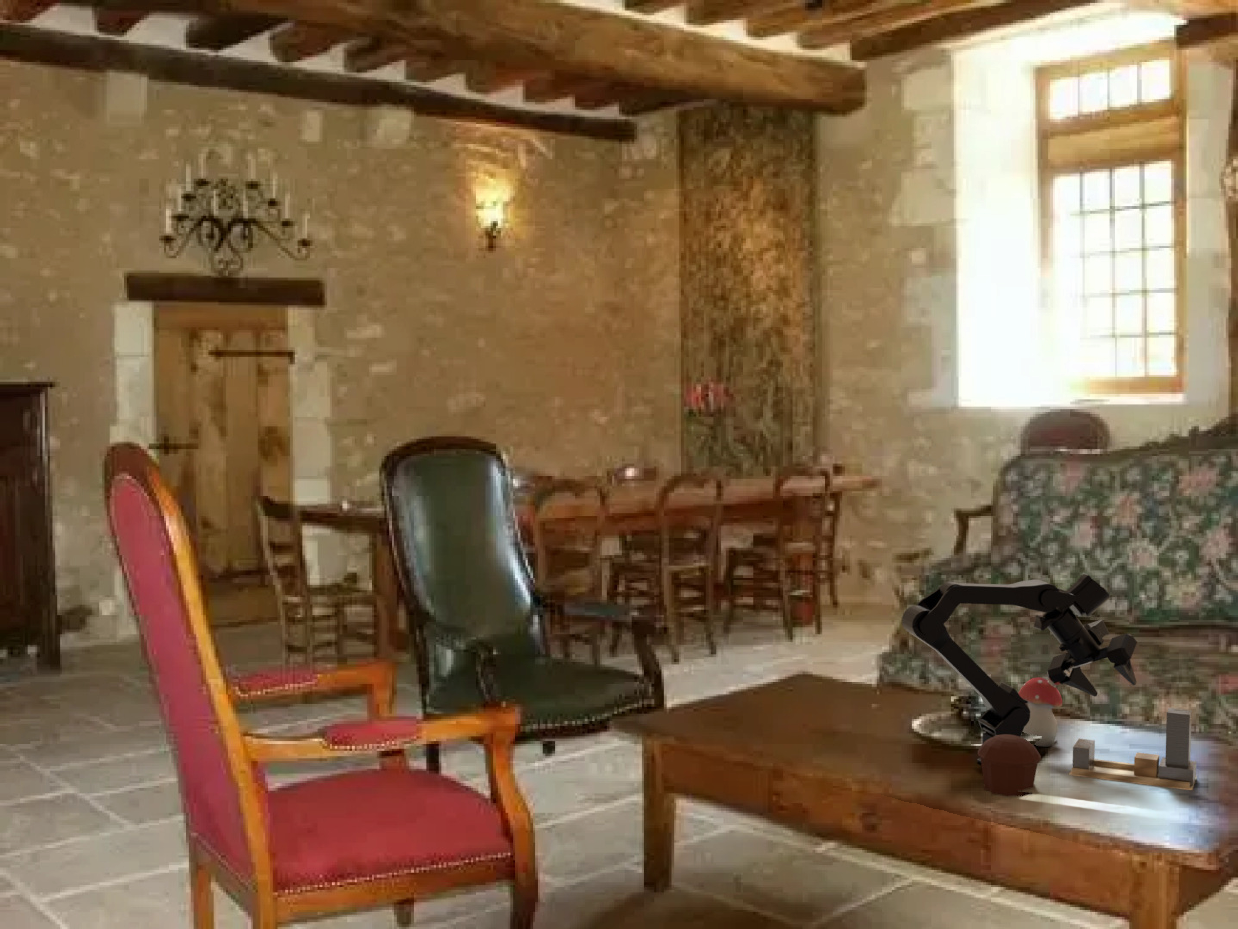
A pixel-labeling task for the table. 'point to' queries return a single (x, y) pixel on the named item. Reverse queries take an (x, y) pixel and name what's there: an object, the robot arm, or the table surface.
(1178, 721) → the block
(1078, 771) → the wooden tray
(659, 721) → the table surface
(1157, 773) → the walnut block
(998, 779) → the muffin
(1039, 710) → the decorative ornament
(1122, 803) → the table surface
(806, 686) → the table surface
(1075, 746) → the block
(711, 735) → the table surface
